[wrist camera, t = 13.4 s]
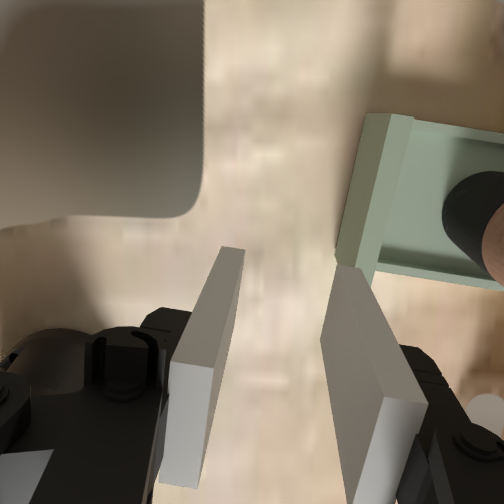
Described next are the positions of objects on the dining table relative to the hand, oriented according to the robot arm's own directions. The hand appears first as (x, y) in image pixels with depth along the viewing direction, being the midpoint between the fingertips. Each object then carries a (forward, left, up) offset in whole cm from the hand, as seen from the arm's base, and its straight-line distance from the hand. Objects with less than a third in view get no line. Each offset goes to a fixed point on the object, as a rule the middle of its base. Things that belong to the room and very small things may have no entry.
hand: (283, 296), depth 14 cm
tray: (+16, 0, -27) cm, 31 cm away
